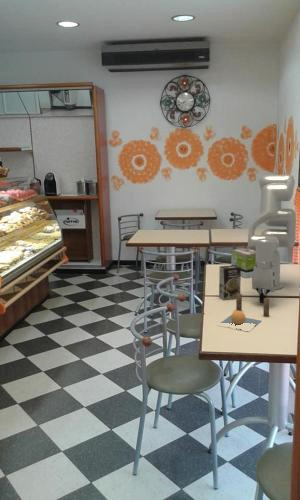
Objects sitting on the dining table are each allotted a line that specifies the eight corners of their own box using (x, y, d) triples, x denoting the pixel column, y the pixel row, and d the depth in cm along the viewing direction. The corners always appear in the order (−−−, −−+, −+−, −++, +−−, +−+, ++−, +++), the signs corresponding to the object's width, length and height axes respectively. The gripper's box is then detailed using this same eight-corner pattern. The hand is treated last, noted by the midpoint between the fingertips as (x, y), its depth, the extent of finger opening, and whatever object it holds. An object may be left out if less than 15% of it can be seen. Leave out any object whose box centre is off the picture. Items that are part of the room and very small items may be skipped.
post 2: (264, 314, 189) (264, 297, 188) (269, 315, 188) (270, 298, 186) (262, 316, 187) (262, 299, 186) (267, 317, 186) (268, 299, 184)
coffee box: (224, 300, 211) (224, 268, 207) (218, 296, 217) (218, 266, 213) (240, 298, 213) (241, 267, 210) (235, 294, 219) (235, 264, 216)
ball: (227, 320, 177) (232, 325, 181) (240, 323, 173) (245, 328, 178) (231, 307, 179) (235, 312, 183) (244, 309, 175) (248, 314, 180)
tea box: (230, 273, 261) (230, 249, 258) (243, 271, 266) (244, 247, 263) (245, 278, 248) (246, 254, 245) (259, 276, 252) (260, 252, 249)
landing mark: (231, 315, 190) (231, 314, 190) (261, 321, 182) (261, 320, 182) (217, 325, 179) (217, 325, 179) (248, 332, 171) (248, 331, 171)
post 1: (237, 309, 197) (237, 293, 195) (242, 310, 195) (242, 294, 194) (235, 311, 195) (235, 294, 193) (240, 312, 193) (240, 295, 192)
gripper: (282, 264, 196) (281, 302, 200) (251, 261, 205) (251, 297, 209) (276, 268, 190) (275, 307, 194) (245, 264, 199) (244, 301, 203)
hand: (262, 302), depth 201 cm, fingers closed
